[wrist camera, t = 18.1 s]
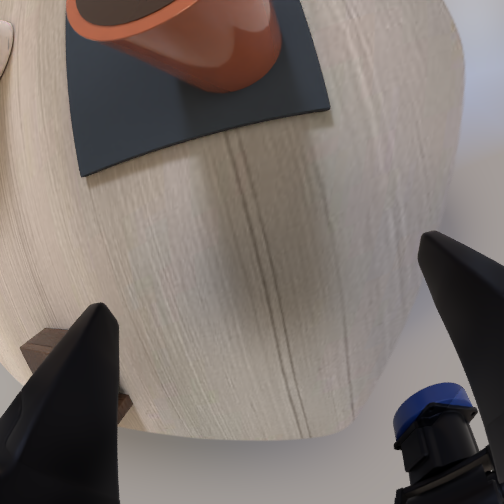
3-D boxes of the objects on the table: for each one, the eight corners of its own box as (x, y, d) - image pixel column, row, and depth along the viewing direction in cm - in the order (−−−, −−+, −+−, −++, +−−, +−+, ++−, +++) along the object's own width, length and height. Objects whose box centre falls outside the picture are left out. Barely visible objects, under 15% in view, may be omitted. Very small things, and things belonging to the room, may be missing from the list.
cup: (303, 61, 13) (286, -37, 5) (198, 113, 15) (86, 81, 7) (250, -17, 12) (198, -117, 4) (158, 33, 14) (55, -25, 5)
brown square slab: (133, 404, 24) (112, 432, 20) (77, 392, 26) (56, 414, 22) (99, 331, 22) (70, 357, 18) (45, 327, 24) (19, 347, 20)
